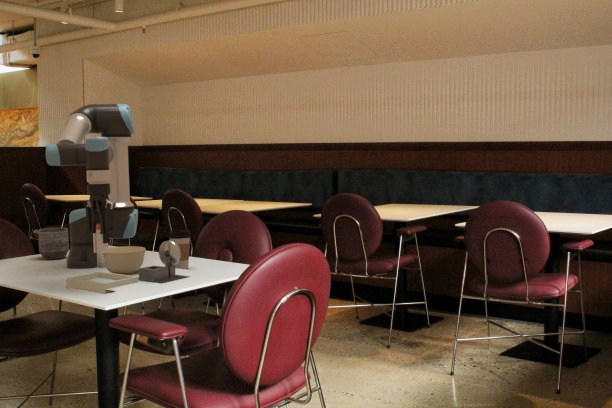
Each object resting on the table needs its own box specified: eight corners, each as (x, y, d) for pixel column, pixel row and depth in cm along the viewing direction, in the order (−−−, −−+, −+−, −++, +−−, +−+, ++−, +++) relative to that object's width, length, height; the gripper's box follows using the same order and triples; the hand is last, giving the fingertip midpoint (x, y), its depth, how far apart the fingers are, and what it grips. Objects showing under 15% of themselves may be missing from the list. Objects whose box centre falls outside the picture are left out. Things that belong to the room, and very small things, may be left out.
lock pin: (95, 267, 230) (93, 223, 229) (102, 266, 232) (100, 223, 231) (101, 268, 229) (99, 224, 228) (107, 266, 231) (106, 223, 230)
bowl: (142, 279, 243) (141, 252, 242) (96, 281, 242) (95, 253, 241) (149, 272, 259) (148, 245, 258) (106, 273, 258) (105, 247, 257)
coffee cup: (186, 271, 260) (185, 231, 258) (166, 270, 261) (164, 231, 260) (194, 267, 268) (193, 229, 267) (174, 266, 269) (173, 229, 268)
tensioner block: (129, 283, 237) (127, 243, 236) (159, 276, 249) (157, 238, 247) (161, 287, 228) (160, 246, 227) (191, 280, 240) (189, 241, 238)
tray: (66, 287, 231) (66, 277, 231) (100, 280, 243) (99, 271, 242) (105, 293, 220) (105, 283, 220) (138, 286, 231) (138, 276, 231)
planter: (33, 259, 293) (31, 230, 292) (53, 255, 304) (52, 227, 303) (55, 261, 288) (53, 231, 287) (75, 256, 299) (74, 228, 298)
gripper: (74, 183, 230) (76, 252, 232) (105, 183, 221) (107, 255, 223) (92, 182, 236) (95, 249, 238) (123, 182, 227) (125, 252, 229)
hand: (101, 252), depth 230 cm, fingers closed on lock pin, 3 cm apart
